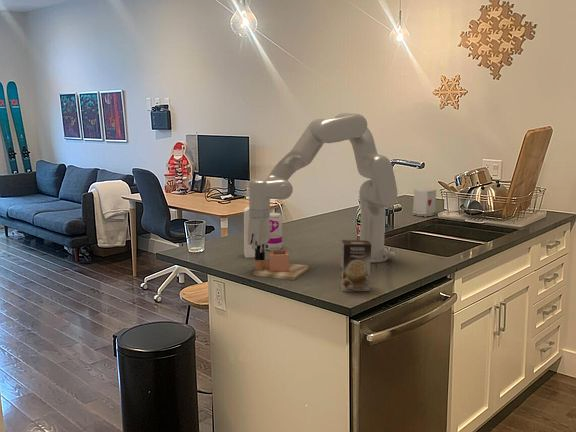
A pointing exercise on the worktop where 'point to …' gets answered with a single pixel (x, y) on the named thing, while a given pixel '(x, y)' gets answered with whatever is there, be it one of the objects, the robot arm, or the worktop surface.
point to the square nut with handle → (275, 261)
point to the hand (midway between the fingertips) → (259, 262)
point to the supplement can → (275, 232)
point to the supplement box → (424, 201)
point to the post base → (283, 272)
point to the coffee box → (355, 265)
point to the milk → (247, 248)
